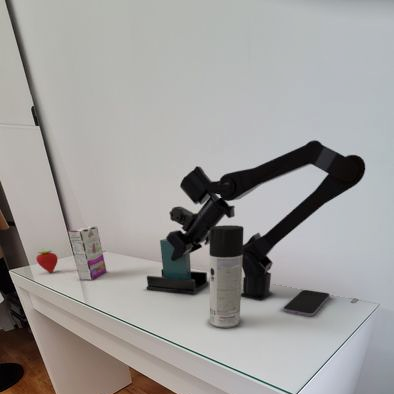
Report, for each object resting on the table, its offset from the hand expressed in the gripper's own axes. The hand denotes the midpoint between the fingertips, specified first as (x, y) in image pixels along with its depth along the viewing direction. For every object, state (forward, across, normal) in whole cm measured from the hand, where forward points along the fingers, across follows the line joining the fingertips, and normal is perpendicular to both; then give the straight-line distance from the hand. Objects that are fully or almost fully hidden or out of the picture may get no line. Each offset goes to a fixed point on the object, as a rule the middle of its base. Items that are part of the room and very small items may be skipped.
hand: (174, 258), depth 85 cm
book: (+5, 0, +6) cm, 8 cm away
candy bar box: (+32, -2, -20) cm, 38 cm away
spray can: (-10, +20, +23) cm, 32 cm away
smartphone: (-21, +3, +34) cm, 40 cm away
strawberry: (+47, -1, -35) cm, 58 cm away
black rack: (+6, 0, +6) cm, 9 cm away
